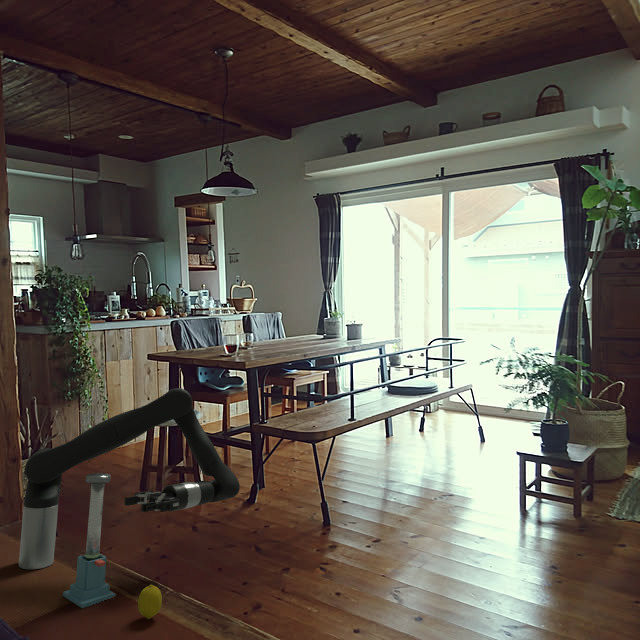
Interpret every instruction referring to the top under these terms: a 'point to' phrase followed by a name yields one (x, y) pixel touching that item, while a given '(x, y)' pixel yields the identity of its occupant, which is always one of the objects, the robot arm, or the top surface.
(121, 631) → the top surface
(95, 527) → the column
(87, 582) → the stand base
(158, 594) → the lemon
